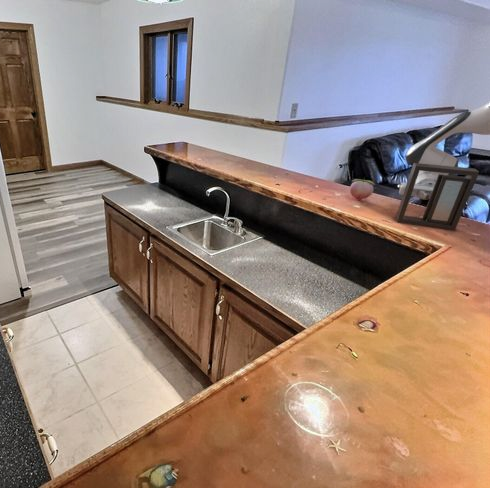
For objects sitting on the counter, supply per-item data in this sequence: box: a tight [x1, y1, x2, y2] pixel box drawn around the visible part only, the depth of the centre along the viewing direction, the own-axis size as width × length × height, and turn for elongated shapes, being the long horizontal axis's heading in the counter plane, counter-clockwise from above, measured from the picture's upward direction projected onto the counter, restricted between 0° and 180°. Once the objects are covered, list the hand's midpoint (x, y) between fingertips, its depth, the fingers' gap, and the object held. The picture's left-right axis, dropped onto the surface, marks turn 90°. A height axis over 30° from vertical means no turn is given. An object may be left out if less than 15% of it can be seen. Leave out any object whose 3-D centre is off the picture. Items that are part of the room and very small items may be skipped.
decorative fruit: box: [349, 177, 376, 201], centre depth 153 cm, size 9×8×10 cm
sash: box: [421, 175, 464, 220], centre depth 128 cm, size 7×5×17 cm
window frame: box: [395, 163, 480, 231], centre depth 126 cm, size 18×5×22 cm, turn 65°
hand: (433, 197), depth 129 cm, fingers open, 3 cm apart
